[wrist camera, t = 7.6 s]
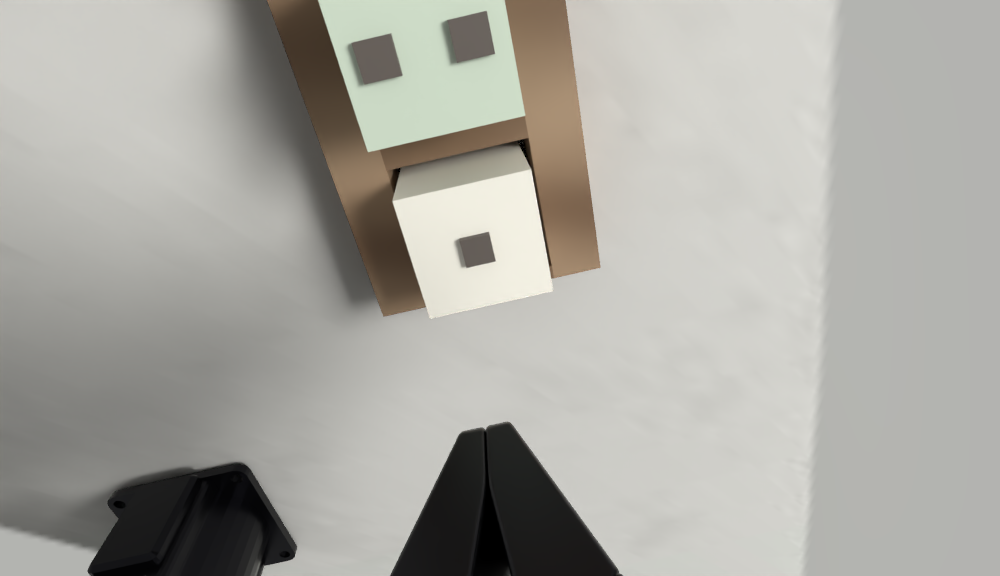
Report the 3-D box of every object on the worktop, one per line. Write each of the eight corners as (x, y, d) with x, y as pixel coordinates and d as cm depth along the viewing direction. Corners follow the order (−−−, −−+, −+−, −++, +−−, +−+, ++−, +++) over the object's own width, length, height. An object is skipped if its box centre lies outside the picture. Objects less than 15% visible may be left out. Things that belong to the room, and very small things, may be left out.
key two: (508, 91, 17) (526, 117, 13) (383, 120, 17) (367, 154, 13) (480, -59, 15) (491, -77, 11) (340, -24, 15) (305, -31, 11)
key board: (587, 245, 21) (600, 267, 19) (388, 290, 21) (383, 316, 20) (498, -386, 13) (506, -445, 11) (178, -305, 13) (137, -351, 11)
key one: (535, 240, 21) (554, 294, 17) (432, 264, 21) (429, 322, 17) (515, 136, 19) (532, 171, 15) (402, 163, 19) (391, 203, 15)
